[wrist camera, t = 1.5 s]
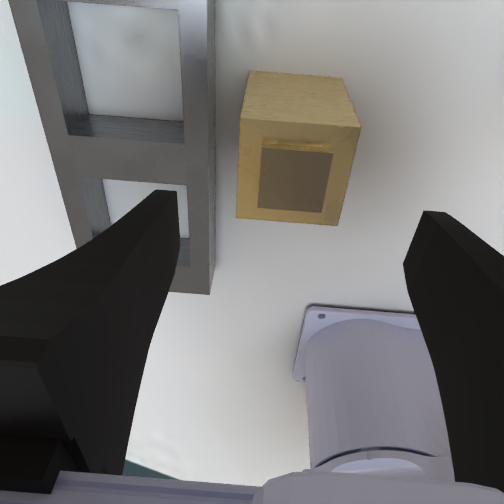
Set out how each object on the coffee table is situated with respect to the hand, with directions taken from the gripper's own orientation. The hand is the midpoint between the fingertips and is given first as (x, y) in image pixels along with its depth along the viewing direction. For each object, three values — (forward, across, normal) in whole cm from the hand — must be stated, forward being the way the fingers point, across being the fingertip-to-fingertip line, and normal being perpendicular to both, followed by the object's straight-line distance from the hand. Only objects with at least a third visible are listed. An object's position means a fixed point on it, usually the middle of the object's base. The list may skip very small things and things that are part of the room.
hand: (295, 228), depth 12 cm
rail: (+9, +7, +2) cm, 11 cm away
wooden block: (+9, 0, 0) cm, 9 cm away
